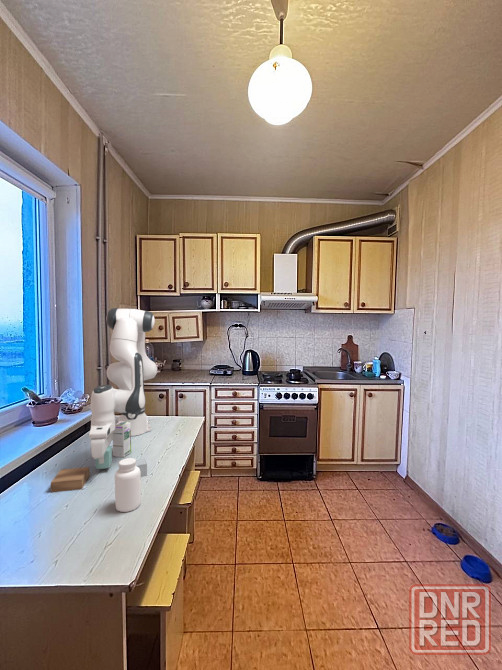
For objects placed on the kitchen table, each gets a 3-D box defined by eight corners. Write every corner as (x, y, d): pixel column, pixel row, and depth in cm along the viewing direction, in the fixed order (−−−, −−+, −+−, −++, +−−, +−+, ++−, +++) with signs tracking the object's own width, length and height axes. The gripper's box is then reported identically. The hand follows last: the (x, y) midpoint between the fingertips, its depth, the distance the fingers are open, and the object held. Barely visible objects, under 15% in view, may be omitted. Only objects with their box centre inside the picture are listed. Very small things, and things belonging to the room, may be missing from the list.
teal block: (99, 463, 129) (98, 446, 128) (111, 462, 130) (111, 445, 129) (95, 469, 124) (95, 451, 124) (109, 467, 125) (108, 450, 125)
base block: (61, 479, 120) (61, 469, 120) (89, 476, 123) (89, 466, 122) (51, 493, 111) (50, 482, 110) (81, 490, 113) (81, 479, 113)
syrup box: (124, 457, 139) (123, 425, 138) (112, 456, 140) (111, 424, 139) (131, 452, 144) (131, 421, 144) (120, 451, 145) (119, 420, 145)
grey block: (131, 473, 125) (131, 461, 125) (144, 470, 127) (144, 458, 127) (133, 478, 120) (133, 466, 120) (147, 476, 123) (146, 463, 123)
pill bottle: (121, 498, 107) (121, 455, 107) (144, 498, 107) (144, 456, 106) (110, 512, 99) (109, 466, 99) (135, 513, 99) (134, 467, 98)
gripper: (101, 417, 135) (102, 448, 136) (87, 436, 115) (88, 472, 116) (117, 417, 137) (117, 447, 138) (105, 434, 117) (106, 470, 118)
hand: (103, 459), depth 127 cm, fingers closed on teal block, 5 cm apart
